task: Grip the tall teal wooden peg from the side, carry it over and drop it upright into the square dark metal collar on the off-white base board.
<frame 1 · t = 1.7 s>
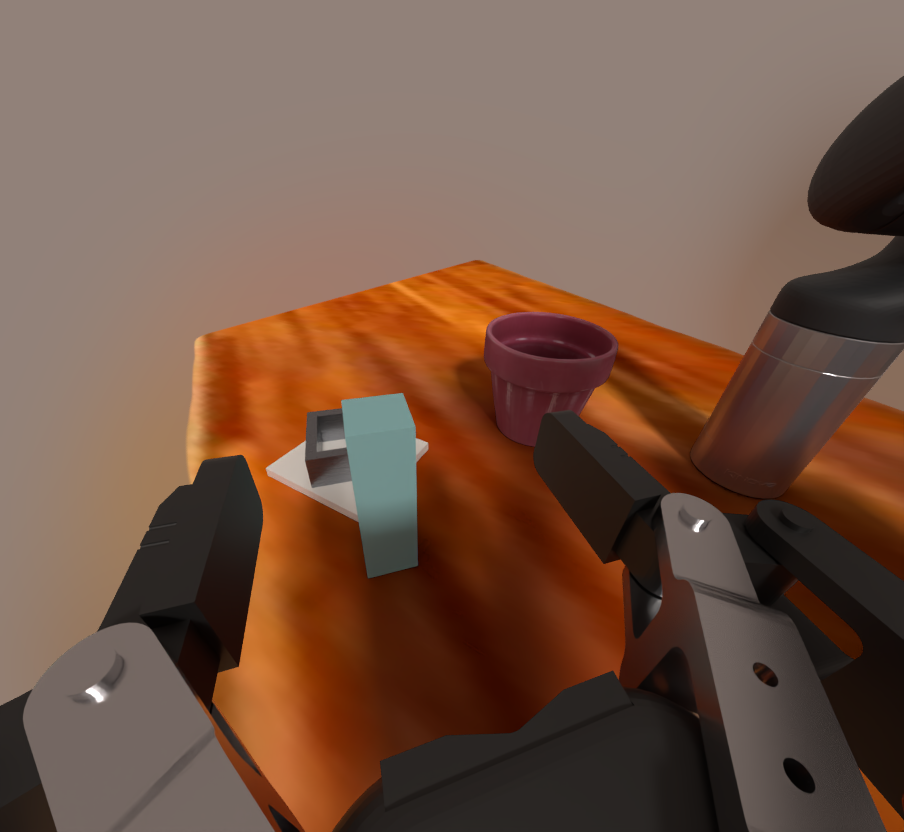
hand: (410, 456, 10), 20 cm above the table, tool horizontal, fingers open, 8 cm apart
base board: (352, 461, 38), on the table
teal peg: (389, 550, 29), on the table
metal collar: (349, 442, 37), on the base board, point 3 cm above the table
plant pot: (530, 427, 46), on the table
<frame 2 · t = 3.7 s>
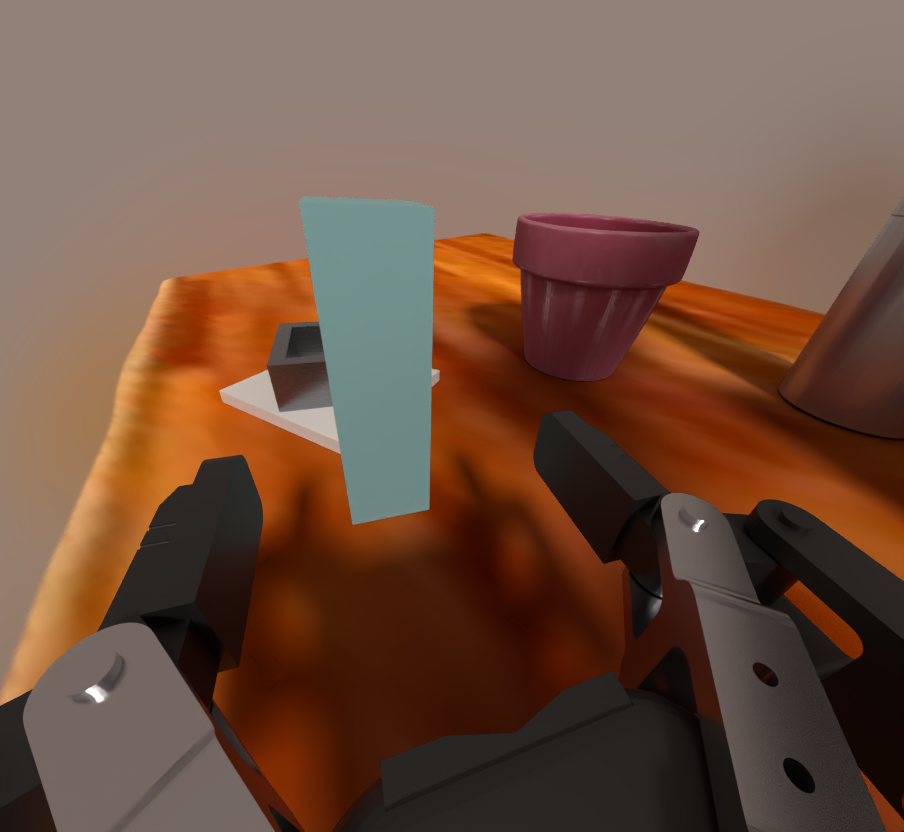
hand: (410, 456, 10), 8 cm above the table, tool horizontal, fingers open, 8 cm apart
base board: (339, 390, 29), on the table
teal peg: (386, 489, 20), on the table
metal collar: (335, 360, 27), on the base board, point 3 cm above the table
plant pot: (567, 363, 36), on the table
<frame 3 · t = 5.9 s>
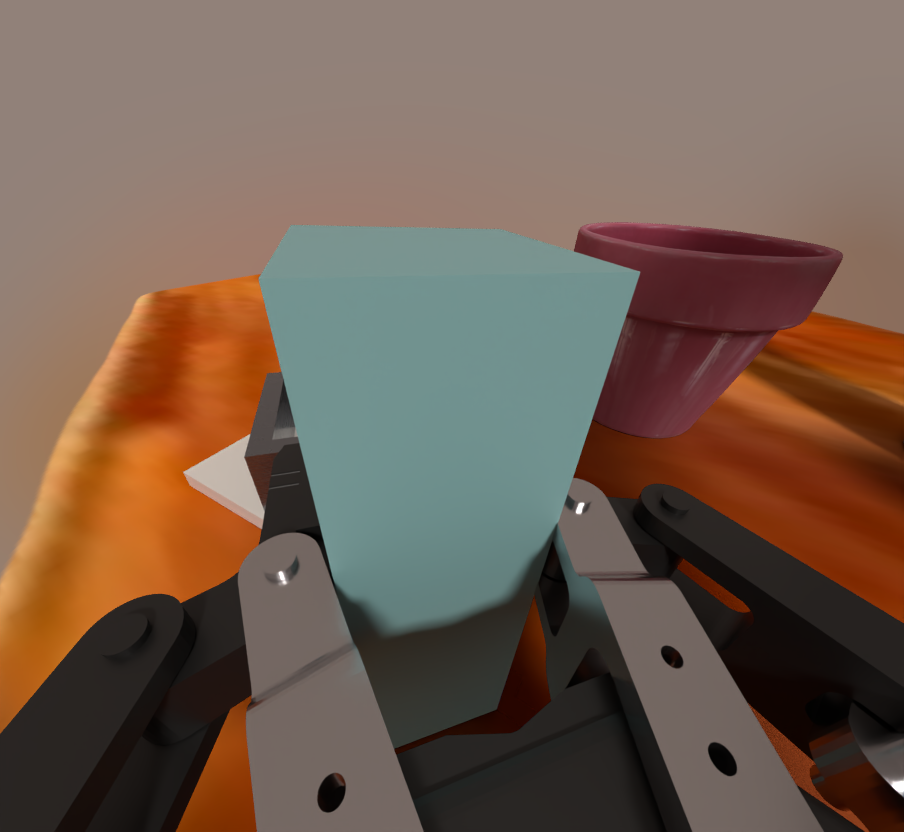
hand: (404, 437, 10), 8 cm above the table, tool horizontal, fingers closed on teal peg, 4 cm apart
base board: (347, 461, 22), on the table
teal peg: (425, 663, 13), on the table, touching gripper
metal collar: (341, 425, 20), on the base board, point 3 cm above the table
plant pot: (628, 408, 29), on the table
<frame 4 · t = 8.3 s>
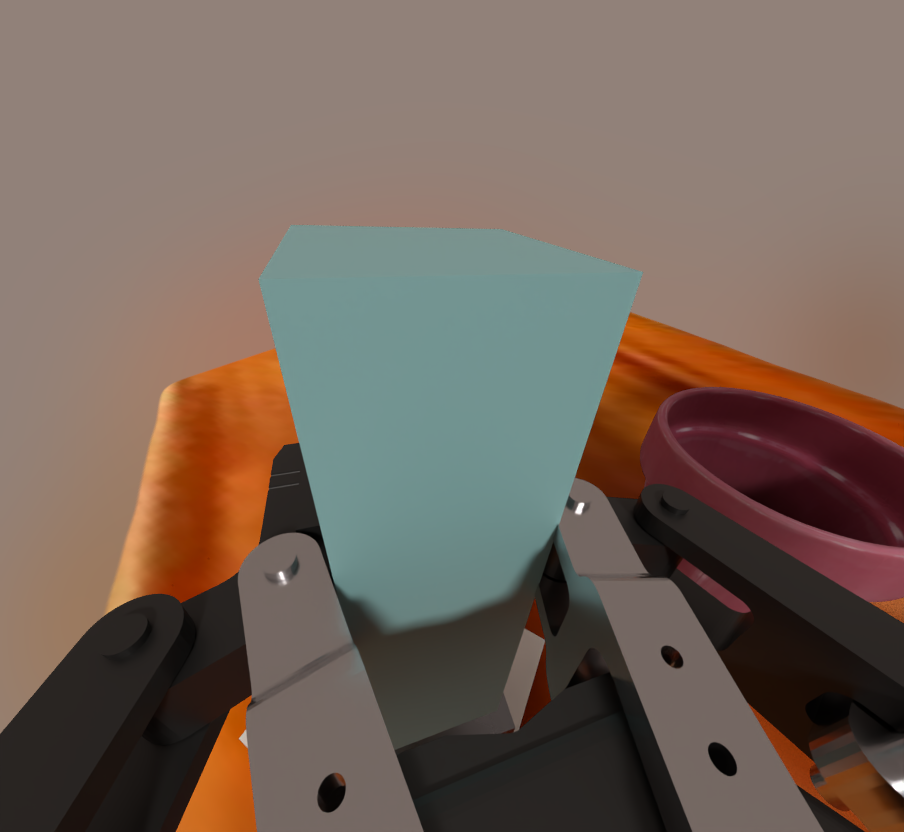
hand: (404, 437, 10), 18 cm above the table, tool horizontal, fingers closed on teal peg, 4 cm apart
base board: (409, 690, 20), on the table
teal peg: (425, 664, 13), point 9 cm above the table, touching gripper
metal collar: (409, 670, 18), on the base board, point 3 cm above the table
plant pot: (694, 576, 27), on the table
when the fingers open (11 cm above the table, at t = 11.0 s): teal peg drops 1 cm, resting on base board.
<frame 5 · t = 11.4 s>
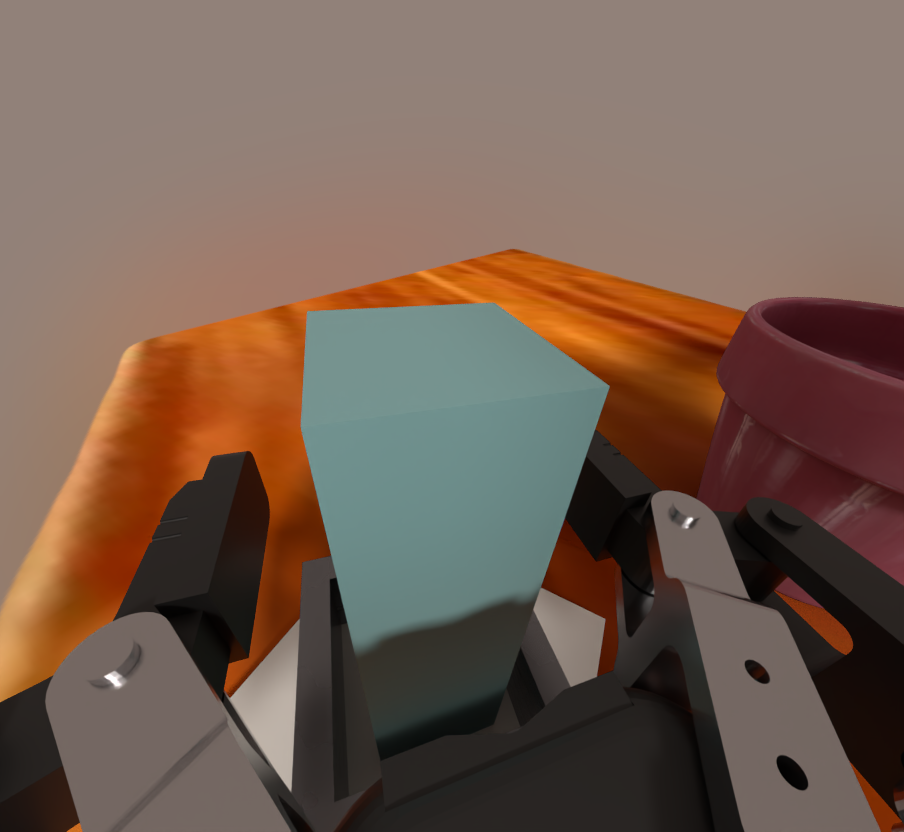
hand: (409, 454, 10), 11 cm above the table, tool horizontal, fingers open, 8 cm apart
base board: (424, 690, 14), on the table
teal peg: (426, 680, 14), point 1 cm above the table, touching base board
metal collar: (424, 660, 13), on the base board, point 3 cm above the table
plant pot: (776, 541, 22), on the table
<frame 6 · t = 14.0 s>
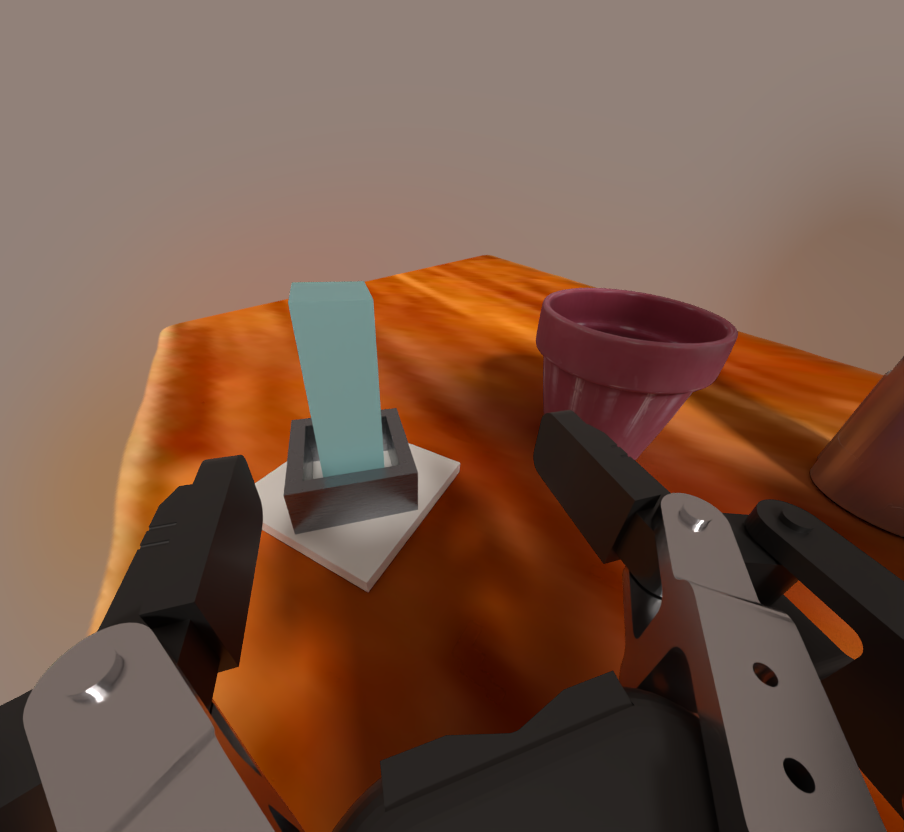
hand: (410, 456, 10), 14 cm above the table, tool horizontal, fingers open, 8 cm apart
base board: (355, 490, 27), on the table
teal peg: (355, 480, 26), point 1 cm above the table, touching base board
metal collar: (352, 463, 26), on the base board, point 3 cm above the table
plant pot: (589, 440, 35), on the table
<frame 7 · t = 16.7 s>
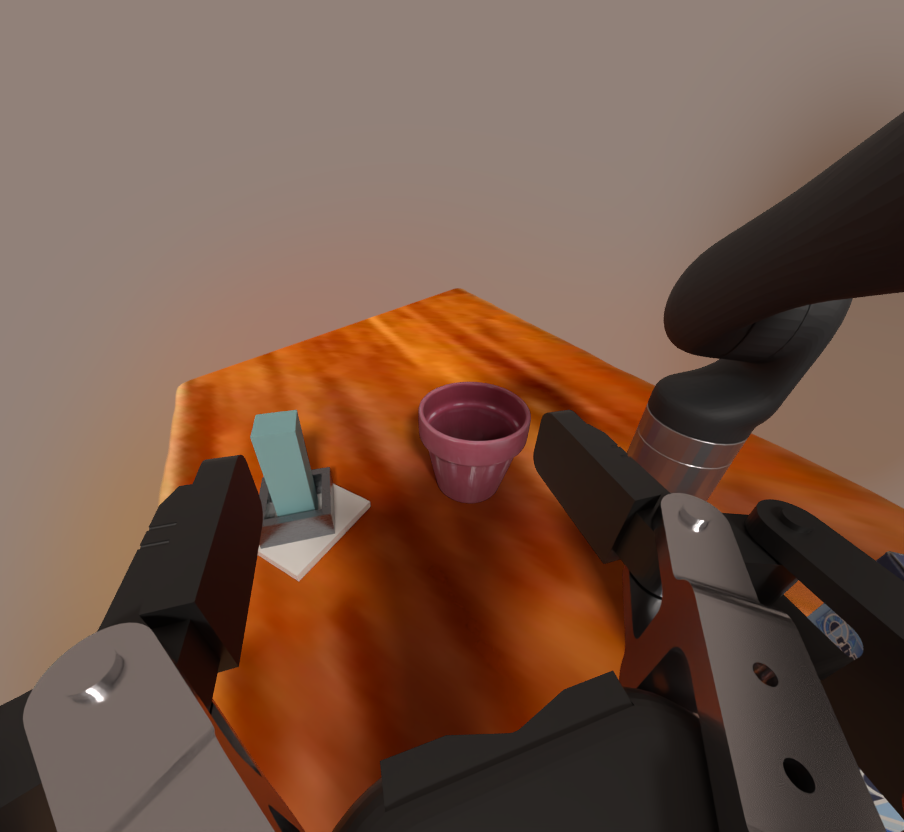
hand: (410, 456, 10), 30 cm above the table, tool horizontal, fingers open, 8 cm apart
base board: (302, 519, 44), on the table
teal peg: (301, 514, 43), point 1 cm above the table, touching base board
gum box: (837, 805, 26), on the table
metal collar: (297, 504, 43), on the base board, point 3 cm above the table
plant pot: (467, 481, 51), on the table
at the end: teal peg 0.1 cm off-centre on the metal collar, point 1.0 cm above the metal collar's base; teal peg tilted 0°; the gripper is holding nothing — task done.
